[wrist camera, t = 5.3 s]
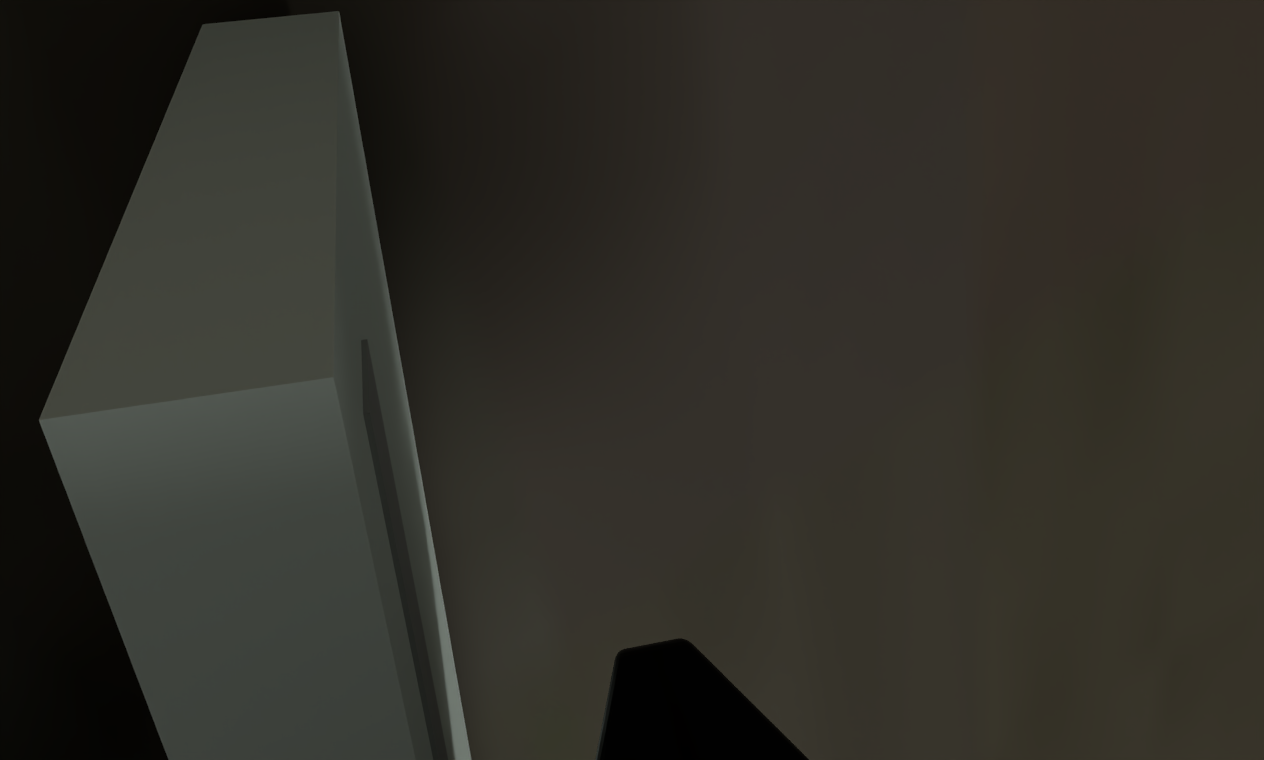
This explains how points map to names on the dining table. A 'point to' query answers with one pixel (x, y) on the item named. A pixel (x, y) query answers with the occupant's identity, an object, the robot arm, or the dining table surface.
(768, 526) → the dining table surface
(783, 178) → the dining table surface
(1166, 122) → the dining table surface
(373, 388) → the door
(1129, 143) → the dining table surface
